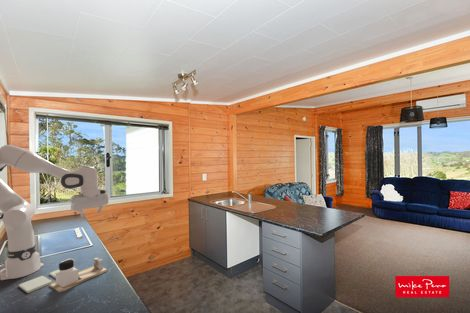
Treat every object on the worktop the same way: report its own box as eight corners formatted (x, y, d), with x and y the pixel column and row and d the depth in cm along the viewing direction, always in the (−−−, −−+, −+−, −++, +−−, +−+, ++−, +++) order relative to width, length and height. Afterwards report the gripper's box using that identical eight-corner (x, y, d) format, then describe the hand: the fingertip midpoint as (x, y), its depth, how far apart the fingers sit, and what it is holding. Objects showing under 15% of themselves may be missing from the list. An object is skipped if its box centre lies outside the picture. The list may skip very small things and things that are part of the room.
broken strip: (19, 286, 118) (18, 274, 118) (69, 267, 137) (68, 256, 137) (27, 293, 111) (27, 280, 111) (79, 272, 130) (78, 261, 130)
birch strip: (49, 286, 117) (48, 273, 117) (95, 266, 136) (95, 256, 136) (60, 292, 111) (59, 279, 111) (107, 271, 130) (106, 260, 130)
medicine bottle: (79, 282, 119) (77, 259, 119) (63, 290, 113) (62, 265, 113) (71, 279, 123) (70, 257, 123) (55, 286, 116) (54, 262, 116)
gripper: (73, 195, 131) (74, 220, 131) (109, 190, 148) (110, 211, 148) (68, 195, 134) (69, 219, 134) (103, 189, 151) (104, 210, 152)
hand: (91, 215), depth 141 cm, fingers open, 8 cm apart
